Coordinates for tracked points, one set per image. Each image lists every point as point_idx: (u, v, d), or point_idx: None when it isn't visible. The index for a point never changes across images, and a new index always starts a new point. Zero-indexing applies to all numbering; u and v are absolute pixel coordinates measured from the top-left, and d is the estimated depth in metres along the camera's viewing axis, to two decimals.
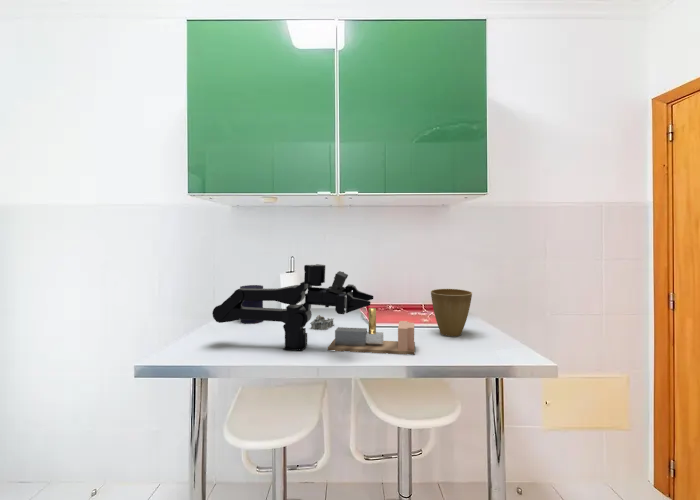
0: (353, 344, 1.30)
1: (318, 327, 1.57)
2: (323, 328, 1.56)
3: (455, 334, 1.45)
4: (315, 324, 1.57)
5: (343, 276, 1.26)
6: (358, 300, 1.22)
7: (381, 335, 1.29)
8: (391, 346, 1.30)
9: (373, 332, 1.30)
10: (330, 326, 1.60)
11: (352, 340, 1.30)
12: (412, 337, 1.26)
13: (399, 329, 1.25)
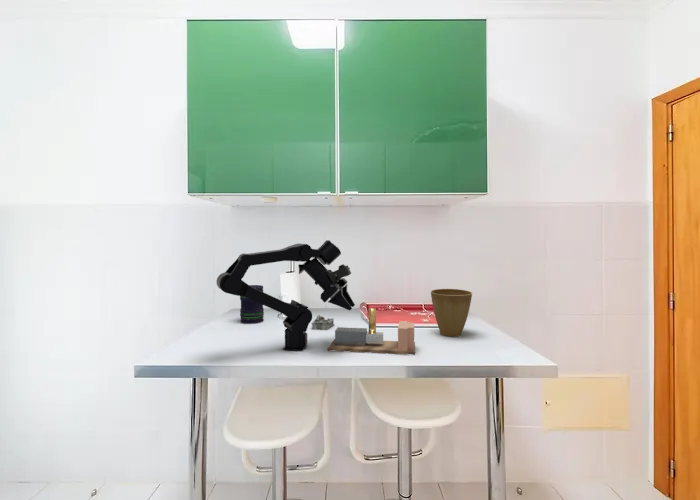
0: (353, 344, 1.30)
1: (319, 327, 1.57)
2: (324, 328, 1.56)
3: (455, 334, 1.45)
4: (316, 324, 1.57)
5: (347, 273, 1.30)
6: (344, 300, 1.28)
7: (381, 335, 1.29)
8: (391, 346, 1.30)
9: (373, 332, 1.30)
10: None
11: (352, 340, 1.30)
12: (412, 337, 1.26)
13: (399, 329, 1.25)
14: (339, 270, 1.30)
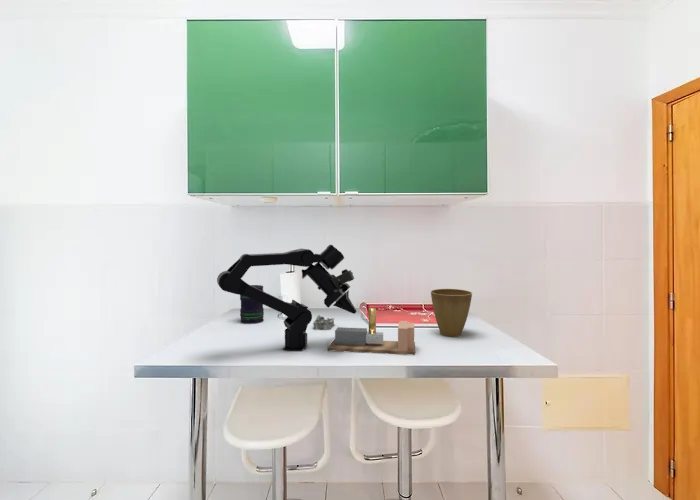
0: (353, 344, 1.30)
1: (321, 327, 1.57)
2: (326, 328, 1.56)
3: (455, 334, 1.45)
4: (318, 324, 1.57)
5: (350, 278, 1.30)
6: (349, 303, 1.31)
7: (381, 335, 1.29)
8: (391, 346, 1.30)
9: (373, 332, 1.30)
10: None
11: (352, 340, 1.30)
12: (412, 337, 1.26)
13: (399, 329, 1.25)
14: (342, 275, 1.30)
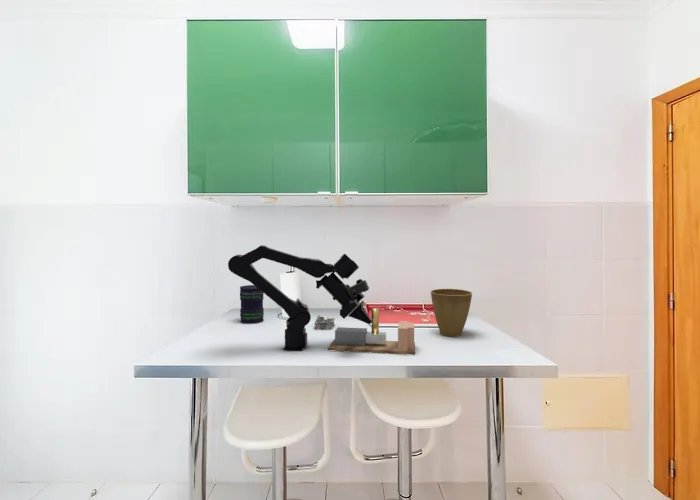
0: (353, 344, 1.30)
1: (322, 327, 1.57)
2: (328, 328, 1.56)
3: (455, 334, 1.45)
4: (320, 324, 1.57)
5: (365, 288, 1.29)
6: (364, 314, 1.30)
7: (384, 335, 1.29)
8: (391, 346, 1.30)
9: (376, 332, 1.30)
10: None
11: (352, 340, 1.30)
12: (412, 337, 1.26)
13: (399, 329, 1.25)
14: (357, 285, 1.29)
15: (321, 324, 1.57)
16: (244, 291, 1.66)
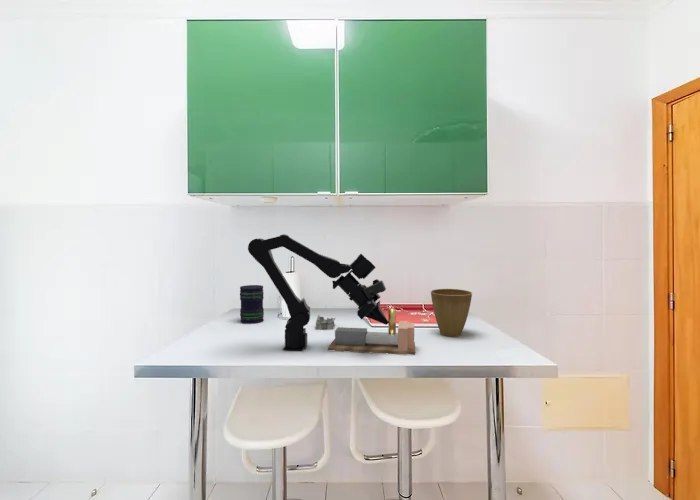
0: (353, 344, 1.30)
1: (324, 327, 1.57)
2: (330, 328, 1.56)
3: (455, 334, 1.45)
4: (321, 324, 1.56)
5: (383, 288, 1.28)
6: (381, 314, 1.29)
7: None
8: (391, 346, 1.30)
9: (393, 333, 1.29)
10: (333, 325, 1.61)
11: (352, 340, 1.30)
12: (412, 337, 1.26)
13: (399, 329, 1.25)
14: (374, 286, 1.28)
15: (322, 324, 1.57)
16: (244, 291, 1.66)
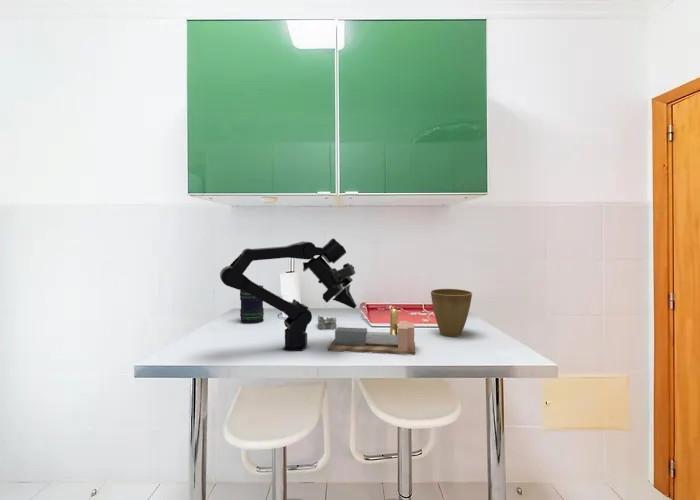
0: (353, 344, 1.30)
1: (327, 327, 1.58)
2: (333, 327, 1.57)
3: (455, 334, 1.45)
4: (324, 324, 1.57)
5: (351, 273, 1.29)
6: (349, 298, 1.31)
7: None
8: (391, 346, 1.30)
9: (395, 333, 1.29)
10: None
11: (352, 340, 1.30)
12: (412, 337, 1.26)
13: (399, 329, 1.25)
14: (343, 270, 1.29)
15: (325, 324, 1.57)
16: (244, 291, 1.66)
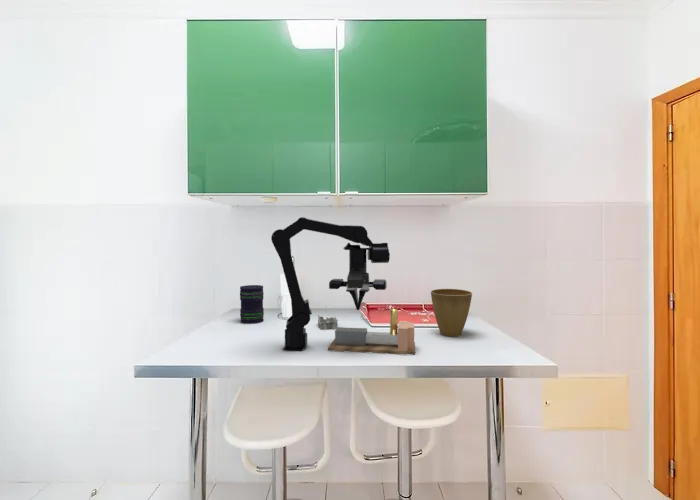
0: (353, 344, 1.30)
1: (328, 327, 1.58)
2: (335, 327, 1.58)
3: (455, 334, 1.45)
4: (326, 324, 1.57)
5: (348, 285, 1.27)
6: None
7: None
8: (391, 346, 1.30)
9: (395, 333, 1.29)
10: None
11: (352, 340, 1.30)
12: (412, 337, 1.26)
13: (399, 329, 1.25)
14: (347, 277, 1.28)
15: (327, 324, 1.57)
16: (244, 291, 1.66)
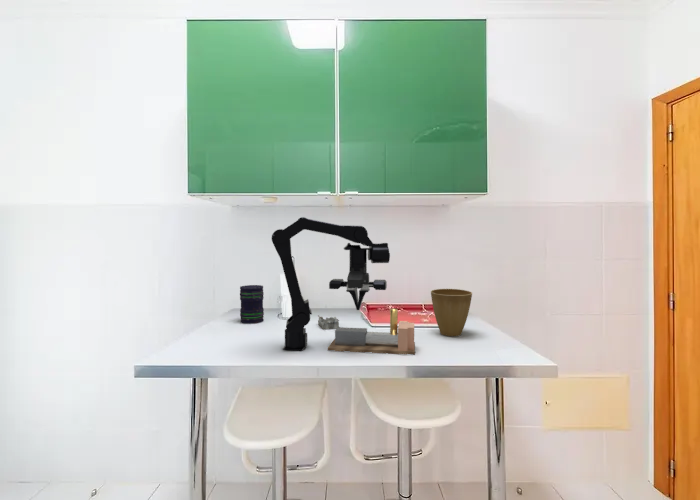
0: (353, 344, 1.30)
1: (330, 327, 1.58)
2: (336, 327, 1.58)
3: (455, 334, 1.45)
4: (328, 324, 1.57)
5: (348, 285, 1.27)
6: None
7: None
8: (391, 346, 1.30)
9: (395, 333, 1.29)
10: None
11: (352, 340, 1.30)
12: (412, 337, 1.26)
13: (399, 329, 1.25)
14: None
15: (329, 324, 1.58)
16: (244, 291, 1.66)
